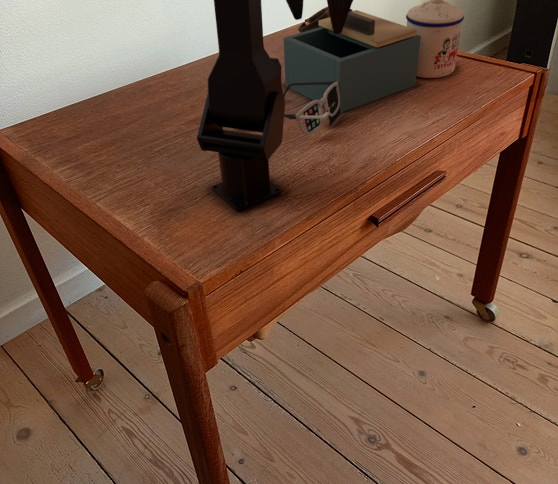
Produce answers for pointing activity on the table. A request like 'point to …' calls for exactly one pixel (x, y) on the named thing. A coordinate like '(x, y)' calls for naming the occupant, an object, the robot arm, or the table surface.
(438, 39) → the teacup with lid
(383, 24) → the sliding lid
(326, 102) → the smart glasses
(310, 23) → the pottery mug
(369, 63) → the box
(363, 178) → the table surface
